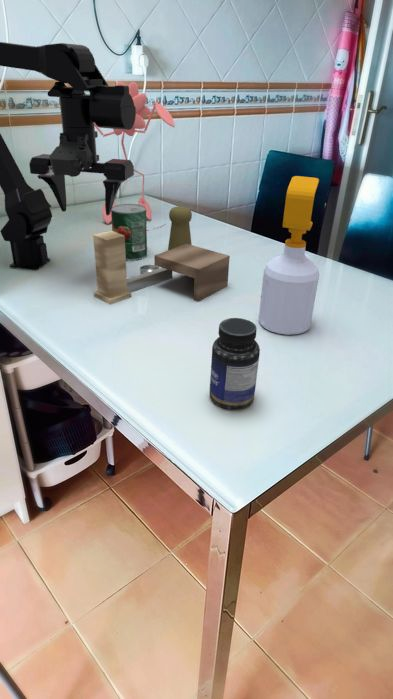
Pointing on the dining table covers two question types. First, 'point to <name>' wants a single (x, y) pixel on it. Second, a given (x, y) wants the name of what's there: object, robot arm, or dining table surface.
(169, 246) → the olive pawn figure
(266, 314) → the soap bottle
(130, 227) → the canned tomato
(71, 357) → the dining table surface
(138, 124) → the pink daisy figurine
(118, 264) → the blade tool
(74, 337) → the dining table surface
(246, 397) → the pill bottle
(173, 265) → the plinth
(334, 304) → the dining table surface
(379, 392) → the dining table surface
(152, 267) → the steel token
